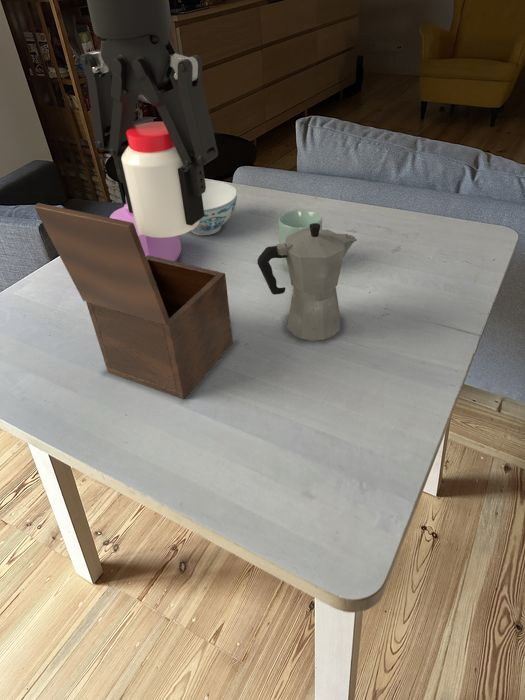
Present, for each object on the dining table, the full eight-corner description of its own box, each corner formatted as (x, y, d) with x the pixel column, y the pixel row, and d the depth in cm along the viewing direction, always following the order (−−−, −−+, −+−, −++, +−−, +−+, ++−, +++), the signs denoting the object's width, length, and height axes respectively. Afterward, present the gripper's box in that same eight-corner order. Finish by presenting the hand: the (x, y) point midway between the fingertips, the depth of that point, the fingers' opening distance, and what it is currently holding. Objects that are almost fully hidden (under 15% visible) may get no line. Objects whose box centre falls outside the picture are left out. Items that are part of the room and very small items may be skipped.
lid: (38, 202, 62) (33, 206, 62) (133, 222, 57) (129, 226, 56) (86, 297, 73) (83, 300, 73) (170, 321, 68) (166, 325, 67)
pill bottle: (212, 216, 66) (201, 122, 59) (173, 243, 61) (155, 145, 54) (164, 204, 69) (148, 115, 62) (122, 229, 64) (100, 135, 57)
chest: (162, 322, 91) (147, 254, 83) (233, 343, 86) (225, 273, 77) (107, 372, 82) (85, 301, 73) (183, 399, 76) (169, 326, 68)
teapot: (192, 279, 101) (183, 220, 94) (109, 296, 98) (93, 237, 91) (173, 230, 118) (163, 177, 110) (101, 243, 115) (86, 189, 107)
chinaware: (240, 211, 123) (238, 179, 119) (239, 242, 112) (236, 207, 107) (176, 215, 124) (170, 182, 119) (167, 246, 112) (161, 211, 107)
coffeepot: (340, 302, 93) (345, 204, 82) (362, 333, 86) (371, 230, 75) (254, 319, 90) (247, 220, 79) (270, 353, 83) (265, 249, 72)
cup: (329, 265, 103) (330, 217, 96) (301, 281, 99) (301, 232, 92) (299, 252, 107) (298, 205, 101) (271, 267, 103) (269, 219, 97)
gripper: (241, -21, 48) (256, 215, 63) (72, -20, 56) (120, 189, 71) (194, -10, 43) (223, 244, 58) (16, -10, 51) (80, 212, 66)
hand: (166, 214), depth 64 cm, fingers closed on pill bottle, 8 cm apart
